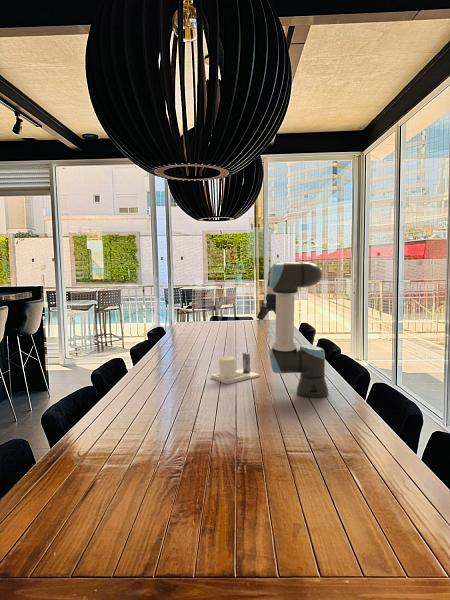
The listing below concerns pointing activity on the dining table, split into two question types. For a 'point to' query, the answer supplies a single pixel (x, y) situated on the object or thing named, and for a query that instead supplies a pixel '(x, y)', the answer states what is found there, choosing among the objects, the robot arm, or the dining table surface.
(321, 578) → the dining table surface
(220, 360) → the candle holder
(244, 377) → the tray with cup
